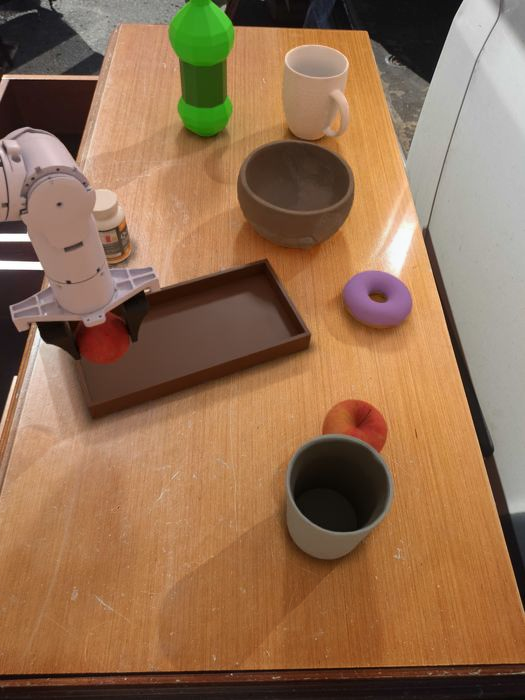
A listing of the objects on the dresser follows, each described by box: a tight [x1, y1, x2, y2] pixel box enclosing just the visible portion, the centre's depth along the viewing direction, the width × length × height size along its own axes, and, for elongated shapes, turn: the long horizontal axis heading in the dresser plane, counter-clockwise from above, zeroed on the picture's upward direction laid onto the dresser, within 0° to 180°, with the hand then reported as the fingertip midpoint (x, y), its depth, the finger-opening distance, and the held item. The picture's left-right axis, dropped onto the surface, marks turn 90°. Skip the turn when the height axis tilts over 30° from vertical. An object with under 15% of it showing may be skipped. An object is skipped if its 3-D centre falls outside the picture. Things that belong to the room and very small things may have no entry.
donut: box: [342, 269, 413, 329], centre depth 79 cm, size 10×9×5 cm
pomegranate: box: [75, 312, 130, 364], centre depth 62 cm, size 6×6×8 cm
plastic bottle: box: [168, 0, 236, 137], centre depth 93 cm, size 10×10×25 cm
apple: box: [321, 398, 388, 454], centre depth 64 cm, size 7×7×8 cm
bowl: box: [236, 139, 356, 250], centre depth 85 cm, size 17×18×10 cm
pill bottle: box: [92, 188, 132, 264], centre depth 80 cm, size 6×6×10 cm
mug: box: [281, 44, 351, 141], centre depth 98 cm, size 15×11×13 cm
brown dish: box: [66, 257, 312, 420], centre depth 74 cm, size 30×15×3 cm, turn 113°
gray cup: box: [284, 434, 395, 560], centre depth 57 cm, size 10×10×12 cm
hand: (104, 344), depth 63 cm, fingers closed on pomegranate, 6 cm apart
